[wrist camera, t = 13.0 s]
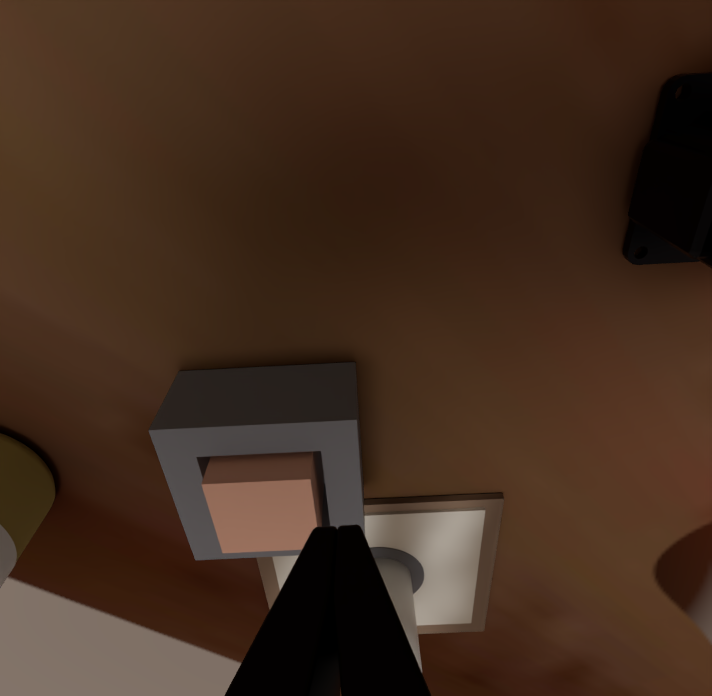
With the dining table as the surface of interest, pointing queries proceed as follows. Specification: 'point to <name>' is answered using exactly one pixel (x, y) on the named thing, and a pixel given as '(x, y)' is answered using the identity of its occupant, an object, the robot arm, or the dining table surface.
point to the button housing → (260, 437)
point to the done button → (264, 500)
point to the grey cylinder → (401, 598)
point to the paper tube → (21, 499)
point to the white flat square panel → (428, 555)
